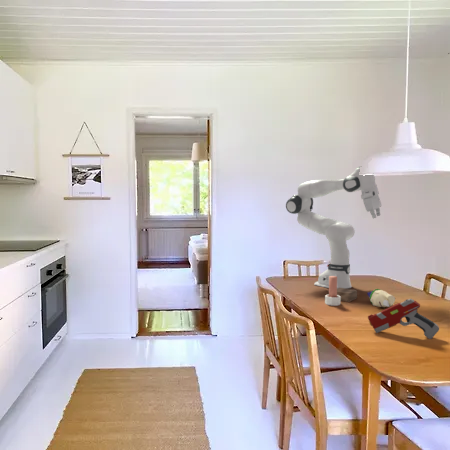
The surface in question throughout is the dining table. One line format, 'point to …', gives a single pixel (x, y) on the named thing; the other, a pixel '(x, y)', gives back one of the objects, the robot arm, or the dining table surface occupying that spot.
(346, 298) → the stand
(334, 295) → the dowel
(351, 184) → the robot arm
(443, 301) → the dining table surface
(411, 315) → the toy gun
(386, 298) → the cartoon head
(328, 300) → the white nut
